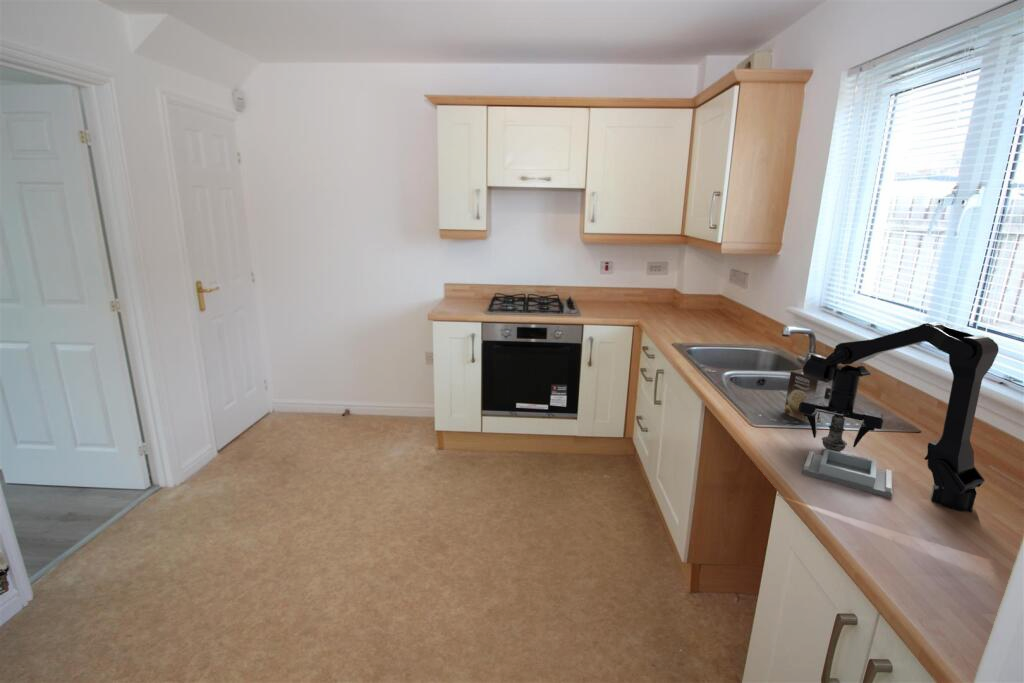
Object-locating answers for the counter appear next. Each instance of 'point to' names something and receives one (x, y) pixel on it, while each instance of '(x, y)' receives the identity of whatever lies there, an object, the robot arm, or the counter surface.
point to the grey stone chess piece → (835, 435)
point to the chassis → (849, 472)
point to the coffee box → (803, 394)
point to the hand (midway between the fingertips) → (833, 441)
